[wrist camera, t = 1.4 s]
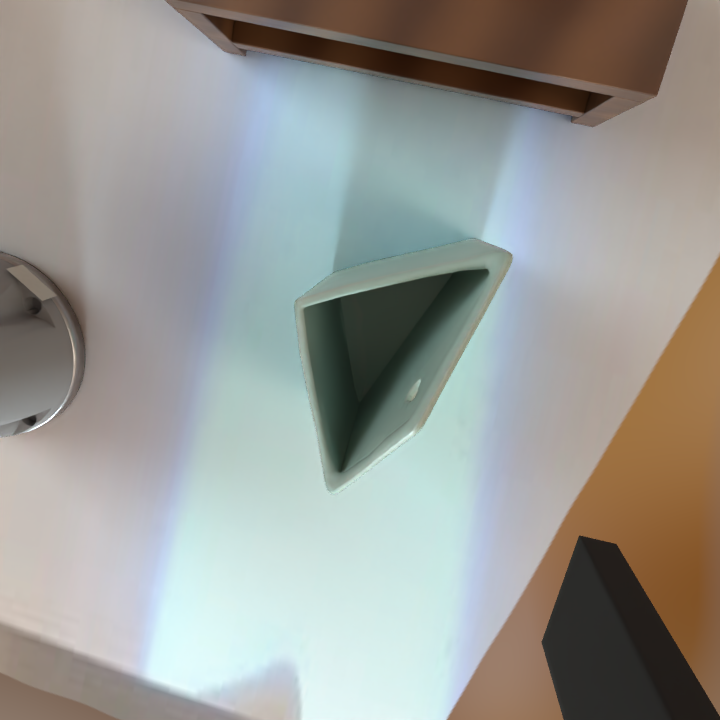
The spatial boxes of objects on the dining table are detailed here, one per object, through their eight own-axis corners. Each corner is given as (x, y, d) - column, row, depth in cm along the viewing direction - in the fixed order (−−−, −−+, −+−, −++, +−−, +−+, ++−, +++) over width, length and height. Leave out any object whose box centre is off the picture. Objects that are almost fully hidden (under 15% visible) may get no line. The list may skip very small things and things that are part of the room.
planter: (393, 179, 39) (374, 145, 20) (483, 242, 39) (548, 268, 20) (276, 359, 43) (169, 473, 24) (358, 413, 44) (316, 567, 25)
